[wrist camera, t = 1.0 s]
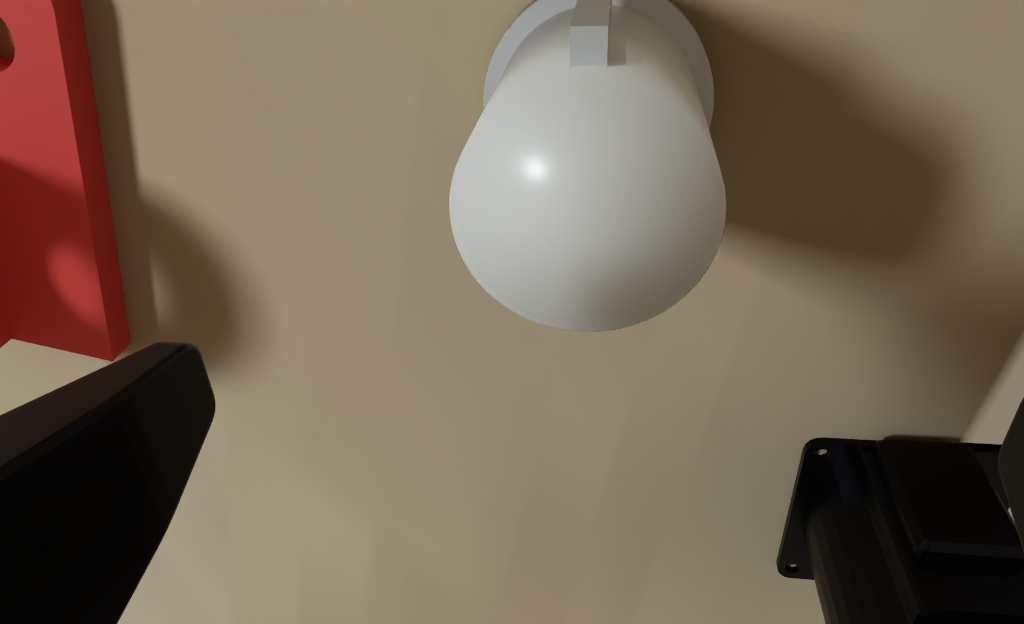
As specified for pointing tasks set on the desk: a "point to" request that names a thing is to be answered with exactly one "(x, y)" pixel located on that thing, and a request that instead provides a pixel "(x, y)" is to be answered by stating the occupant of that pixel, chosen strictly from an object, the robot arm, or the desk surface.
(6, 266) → the bracket
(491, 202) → the white knob
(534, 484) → the desk surface
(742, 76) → the desk surface
